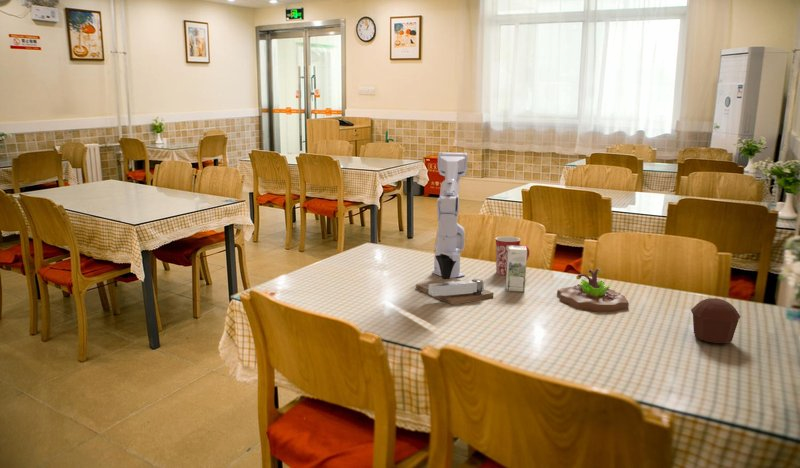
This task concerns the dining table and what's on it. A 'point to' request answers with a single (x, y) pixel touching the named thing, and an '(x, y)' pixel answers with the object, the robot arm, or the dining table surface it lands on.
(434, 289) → the swing bar
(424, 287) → the label board
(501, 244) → the mug
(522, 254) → the syrup box
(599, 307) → the plant
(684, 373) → the dining table surface
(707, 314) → the muffin
